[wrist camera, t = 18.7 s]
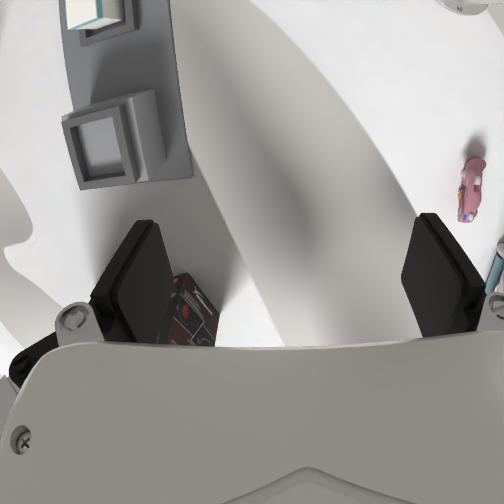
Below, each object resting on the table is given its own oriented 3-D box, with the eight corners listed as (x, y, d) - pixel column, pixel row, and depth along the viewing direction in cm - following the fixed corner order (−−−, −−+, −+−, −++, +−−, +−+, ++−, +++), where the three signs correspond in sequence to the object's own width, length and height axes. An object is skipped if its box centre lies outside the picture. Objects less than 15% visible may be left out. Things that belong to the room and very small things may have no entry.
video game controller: (459, 151, 37) (463, 166, 32) (485, 156, 35) (493, 173, 30) (451, 207, 43) (453, 228, 38) (475, 212, 41) (479, 234, 36)
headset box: (189, 269, 52) (134, 463, 25) (224, 315, 58) (197, 488, 32) (97, 301, 59) (35, 439, 33) (132, 337, 66) (89, 469, 39)
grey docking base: (61, -17, 23) (19, -21, 15) (165, -55, 21) (137, -78, 14) (96, 185, 43) (65, 217, 35) (192, 174, 41) (174, 207, 34)
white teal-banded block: (94, -3, 25) (64, -7, 19) (121, -13, 24) (94, -20, 19) (97, 29, 28) (67, 29, 22) (124, 20, 27) (97, 17, 22)
